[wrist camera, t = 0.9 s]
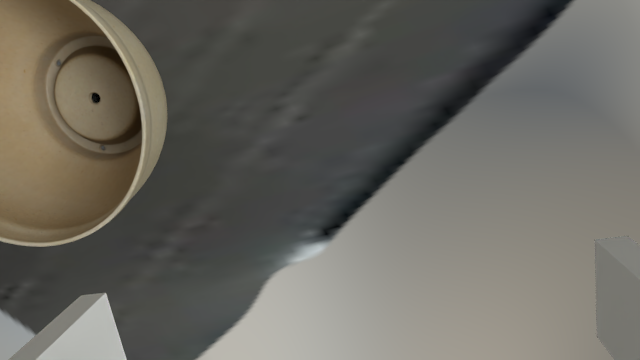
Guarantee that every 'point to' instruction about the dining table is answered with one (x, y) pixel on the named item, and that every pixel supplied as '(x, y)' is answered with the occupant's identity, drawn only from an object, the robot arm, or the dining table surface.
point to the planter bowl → (72, 119)
